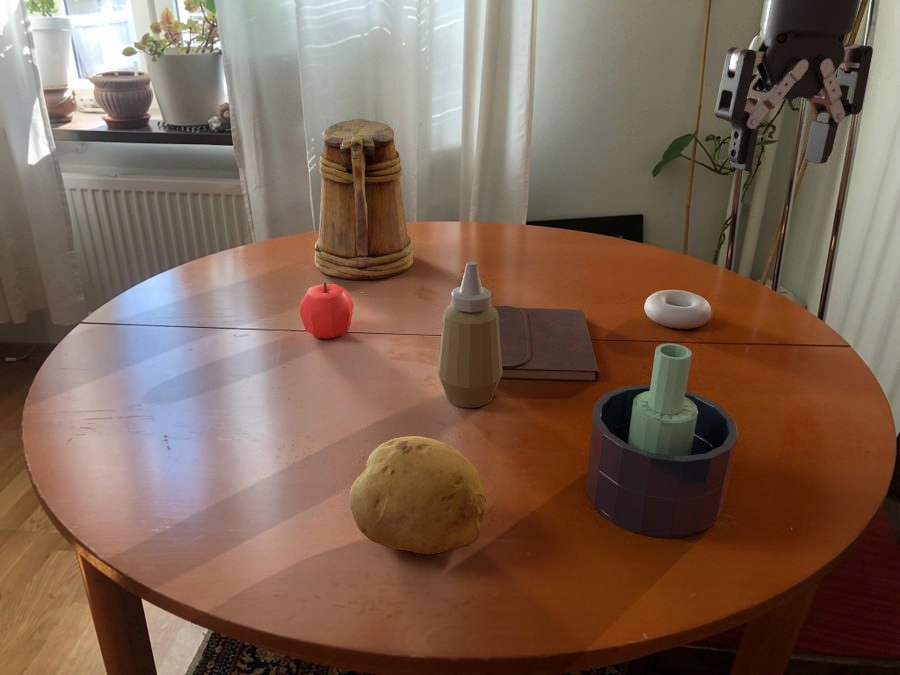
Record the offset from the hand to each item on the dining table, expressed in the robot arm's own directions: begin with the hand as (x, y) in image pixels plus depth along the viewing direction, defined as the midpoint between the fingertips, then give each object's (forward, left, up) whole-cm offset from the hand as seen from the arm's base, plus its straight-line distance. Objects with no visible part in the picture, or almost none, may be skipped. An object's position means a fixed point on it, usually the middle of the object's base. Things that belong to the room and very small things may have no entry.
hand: (778, 165), depth 70 cm
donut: (+3, -35, -32) cm, 48 cm away
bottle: (+8, +10, -32) cm, 34 cm away
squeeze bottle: (+30, -5, -32) cm, 44 cm away
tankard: (+57, -46, -32) cm, 80 cm away
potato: (+30, +21, -32) cm, 49 cm away
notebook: (+23, -21, -32) cm, 45 cm away
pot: (+8, +10, -32) cm, 34 cm away
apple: (+54, -19, -32) cm, 66 cm away
